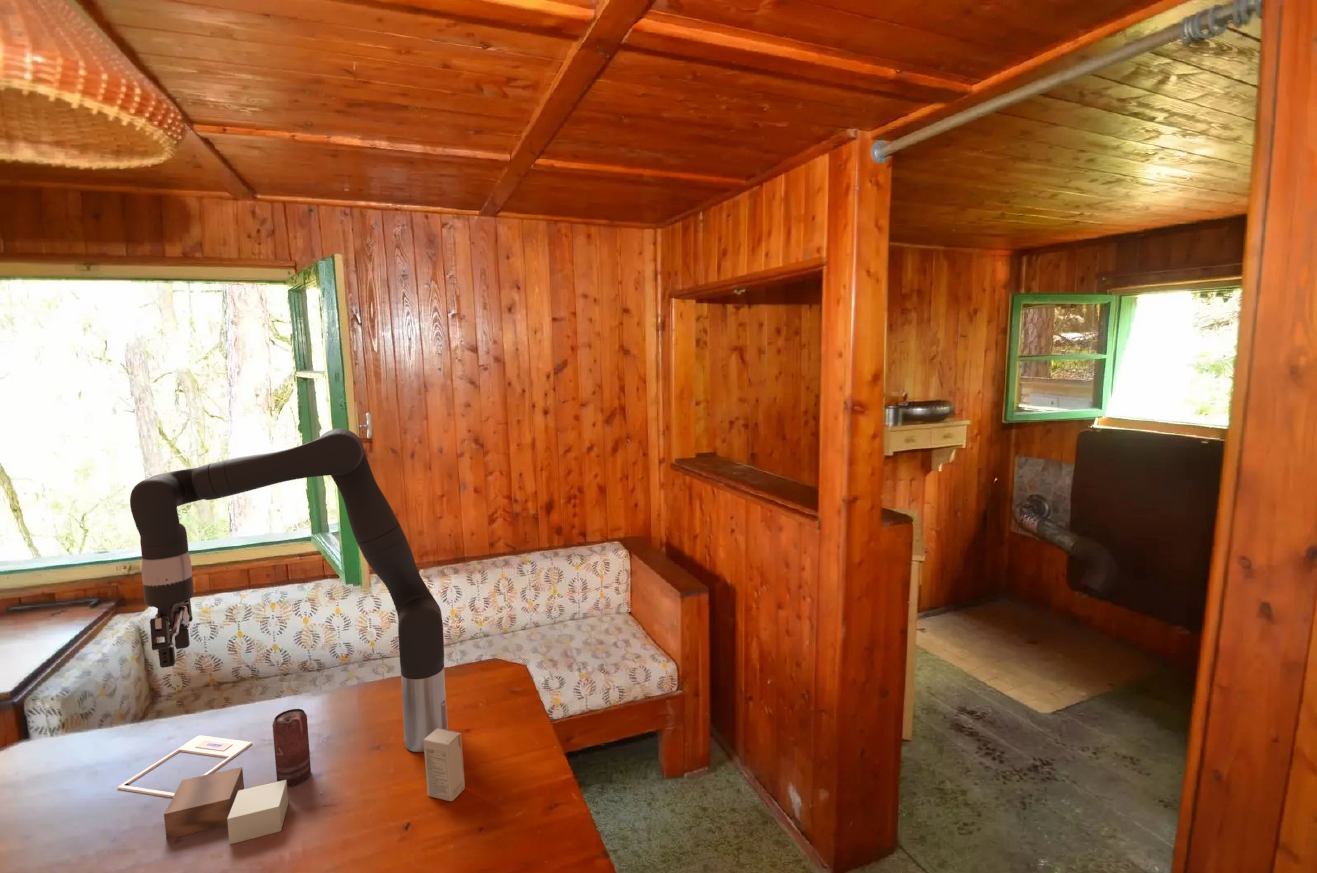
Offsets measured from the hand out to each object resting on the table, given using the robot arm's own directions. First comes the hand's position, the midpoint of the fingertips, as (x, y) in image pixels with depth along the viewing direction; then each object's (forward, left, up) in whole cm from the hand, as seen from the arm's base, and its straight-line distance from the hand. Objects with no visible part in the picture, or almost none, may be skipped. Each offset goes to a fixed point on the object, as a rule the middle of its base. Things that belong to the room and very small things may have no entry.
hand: (175, 656), depth 119 cm
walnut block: (-5, +8, -29) cm, 31 cm away
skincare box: (-48, +20, -30) cm, 60 cm away
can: (-19, +3, -30) cm, 35 cm away
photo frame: (+3, -11, -30) cm, 32 cm away
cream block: (-15, +15, -29) cm, 36 cm away
